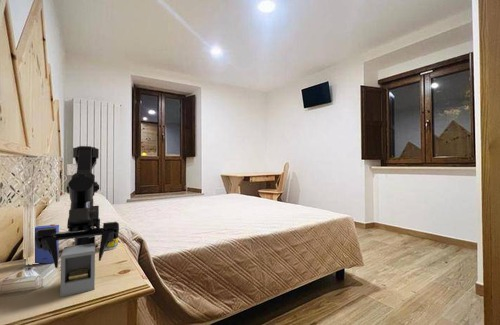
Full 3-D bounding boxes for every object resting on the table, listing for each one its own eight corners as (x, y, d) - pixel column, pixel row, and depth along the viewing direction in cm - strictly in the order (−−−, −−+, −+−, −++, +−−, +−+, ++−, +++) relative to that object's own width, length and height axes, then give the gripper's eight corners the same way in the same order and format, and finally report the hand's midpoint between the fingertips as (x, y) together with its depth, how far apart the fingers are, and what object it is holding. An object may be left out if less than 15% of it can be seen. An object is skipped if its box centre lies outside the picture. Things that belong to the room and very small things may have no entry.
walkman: (58, 259, 83) (59, 223, 82) (55, 262, 80) (55, 225, 80) (29, 262, 80) (29, 225, 80) (24, 265, 77) (25, 227, 77)
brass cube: (70, 285, 66) (70, 270, 66) (88, 282, 68) (88, 267, 68) (68, 292, 62) (68, 277, 62) (87, 288, 65) (87, 273, 65)
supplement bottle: (117, 244, 98) (117, 220, 98) (118, 248, 93) (118, 223, 93) (101, 247, 95) (101, 222, 95) (101, 251, 90) (102, 225, 90)
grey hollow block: (63, 284, 66) (64, 247, 66) (94, 278, 70) (95, 243, 70) (60, 296, 60) (60, 255, 60) (94, 289, 64) (94, 250, 64)
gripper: (36, 198, 64) (25, 255, 54) (119, 194, 73) (121, 242, 64) (42, 222, 70) (33, 277, 61) (116, 215, 80) (118, 261, 71)
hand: (78, 263), depth 64 cm, fingers open, 9 cm apart
